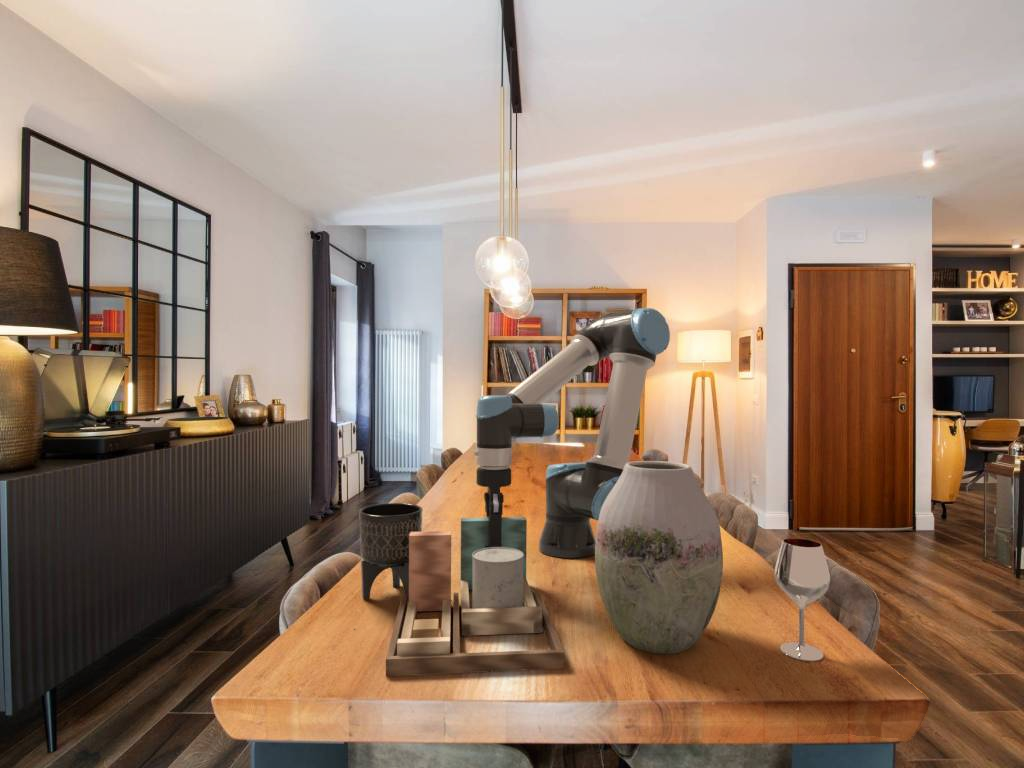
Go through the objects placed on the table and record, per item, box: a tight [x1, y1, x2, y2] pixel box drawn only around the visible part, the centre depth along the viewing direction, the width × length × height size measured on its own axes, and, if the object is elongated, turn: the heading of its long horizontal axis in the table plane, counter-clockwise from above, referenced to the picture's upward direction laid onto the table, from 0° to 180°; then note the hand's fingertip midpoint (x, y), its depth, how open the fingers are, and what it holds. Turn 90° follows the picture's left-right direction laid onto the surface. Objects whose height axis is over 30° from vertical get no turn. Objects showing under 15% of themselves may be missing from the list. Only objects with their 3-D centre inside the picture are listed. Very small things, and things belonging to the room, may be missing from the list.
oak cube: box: [412, 618, 439, 638], centre depth 96 cm, size 4×4×4 cm
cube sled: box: [397, 530, 452, 656], centre depth 101 cm, size 8×26×14 cm, turn 6°
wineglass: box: [774, 537, 831, 662], centre depth 95 cm, size 8×8×18 cm
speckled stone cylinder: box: [471, 547, 524, 609], centre depth 107 cm, size 10×10×12 cm
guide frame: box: [385, 589, 565, 677], centre depth 101 cm, size 27×27×2 cm
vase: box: [594, 460, 724, 655], centre depth 100 cm, size 21×21×30 cm
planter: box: [358, 502, 423, 602], centre depth 120 cm, size 13×13×18 cm
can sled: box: [460, 516, 543, 637], centre depth 113 cm, size 14×26×14 cm, turn 6°
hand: (493, 575), depth 125 cm, fingers closed on can sled, 3 cm apart
